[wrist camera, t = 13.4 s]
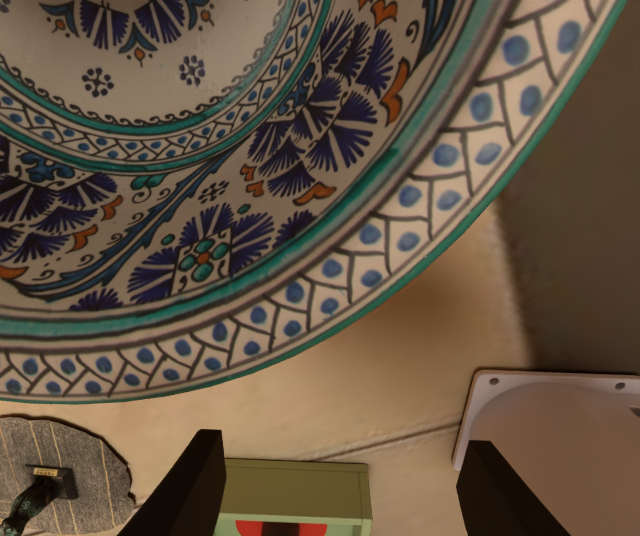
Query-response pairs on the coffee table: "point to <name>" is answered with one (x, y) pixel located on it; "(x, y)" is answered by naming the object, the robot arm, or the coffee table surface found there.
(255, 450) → the coffee table surface
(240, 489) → the open box
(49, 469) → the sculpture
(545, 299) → the coffee table surface
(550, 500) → the robot arm
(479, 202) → the bowl
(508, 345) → the coffee table surface
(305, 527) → the lid
